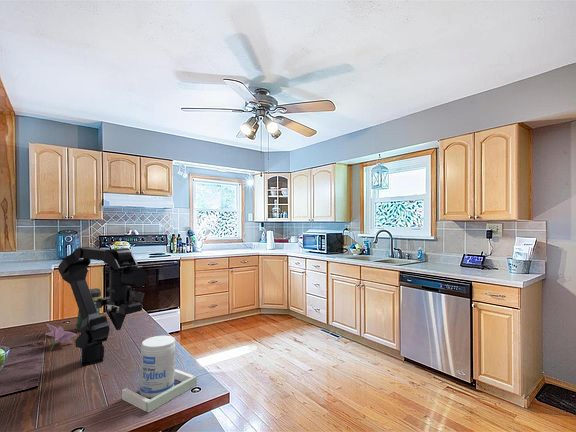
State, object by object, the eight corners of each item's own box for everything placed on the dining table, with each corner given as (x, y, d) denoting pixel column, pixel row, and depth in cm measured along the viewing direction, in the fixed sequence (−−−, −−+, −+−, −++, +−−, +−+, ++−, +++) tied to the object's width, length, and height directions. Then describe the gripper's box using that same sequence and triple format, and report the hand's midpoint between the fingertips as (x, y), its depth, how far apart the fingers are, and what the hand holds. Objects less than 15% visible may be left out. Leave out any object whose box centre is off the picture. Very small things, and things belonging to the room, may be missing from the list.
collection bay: (121, 399, 87) (121, 390, 87) (170, 374, 101) (170, 367, 101) (148, 412, 81) (148, 403, 81) (196, 384, 95) (196, 376, 95)
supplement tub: (139, 402, 85) (139, 349, 86) (140, 386, 94) (140, 337, 94) (176, 394, 89) (176, 343, 90) (173, 379, 98) (174, 333, 98)
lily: (77, 350, 123) (84, 325, 128) (44, 347, 115) (53, 321, 120) (62, 354, 128) (70, 330, 133) (30, 351, 120) (39, 326, 125)
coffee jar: (79, 333, 140) (79, 292, 140) (74, 328, 145) (75, 289, 146) (102, 327, 147) (103, 288, 148) (97, 324, 152) (98, 286, 153)
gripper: (156, 283, 109) (156, 327, 108) (125, 278, 118) (125, 319, 118) (126, 289, 99) (125, 337, 99) (95, 283, 109) (94, 327, 109)
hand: (118, 329), depth 106 cm, fingers closed
